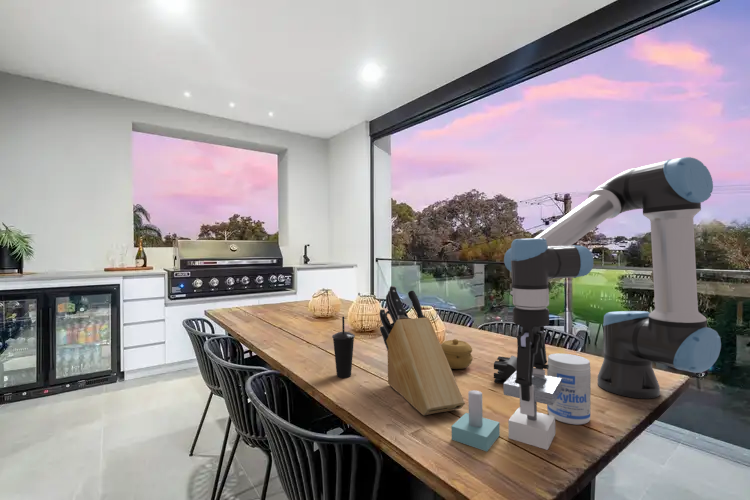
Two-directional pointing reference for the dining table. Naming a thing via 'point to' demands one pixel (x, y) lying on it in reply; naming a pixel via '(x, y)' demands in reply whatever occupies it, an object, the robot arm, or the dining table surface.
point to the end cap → (504, 368)
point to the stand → (532, 428)
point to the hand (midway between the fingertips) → (533, 404)
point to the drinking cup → (343, 352)
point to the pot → (457, 353)
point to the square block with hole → (536, 388)
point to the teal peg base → (475, 425)
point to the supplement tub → (571, 388)
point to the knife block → (417, 359)
